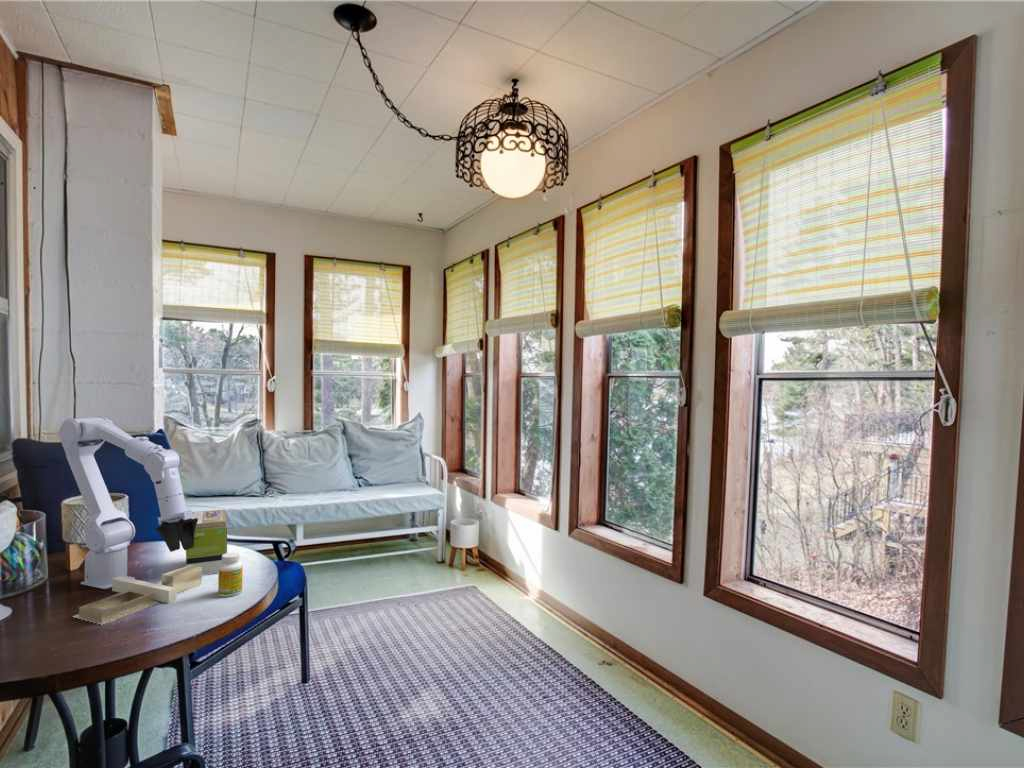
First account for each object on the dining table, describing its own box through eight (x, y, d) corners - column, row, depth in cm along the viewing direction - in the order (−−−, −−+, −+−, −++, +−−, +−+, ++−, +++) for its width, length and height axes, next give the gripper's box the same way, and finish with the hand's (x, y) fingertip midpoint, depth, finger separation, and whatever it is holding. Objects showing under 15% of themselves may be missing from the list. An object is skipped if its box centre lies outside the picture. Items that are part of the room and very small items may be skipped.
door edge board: (112, 590, 142) (112, 578, 142) (120, 588, 144) (120, 576, 144) (168, 603, 135) (168, 590, 135) (176, 600, 136) (176, 588, 136)
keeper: (72, 617, 126) (72, 607, 126) (129, 597, 138) (130, 587, 138) (102, 625, 122) (102, 614, 122) (158, 603, 134) (158, 593, 134)
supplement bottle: (232, 598, 138) (232, 558, 138) (213, 596, 139) (213, 557, 139) (246, 590, 144) (247, 552, 143) (228, 588, 145) (228, 550, 145)
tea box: (188, 561, 165) (188, 511, 165) (226, 557, 170) (227, 508, 169) (185, 578, 152) (185, 523, 152) (226, 572, 156) (227, 519, 156)
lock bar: (161, 594, 140) (161, 574, 140) (190, 583, 148) (190, 564, 148) (173, 597, 139) (173, 576, 139) (201, 586, 146) (201, 566, 146)
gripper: (200, 489, 142) (211, 542, 142) (174, 496, 151) (185, 546, 150) (170, 497, 137) (182, 552, 136) (145, 503, 145) (156, 555, 144)
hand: (181, 549), depth 143 cm, fingers open, 7 cm apart
